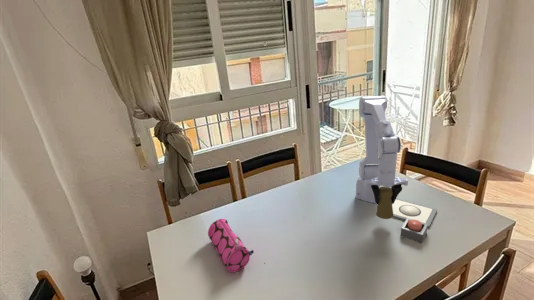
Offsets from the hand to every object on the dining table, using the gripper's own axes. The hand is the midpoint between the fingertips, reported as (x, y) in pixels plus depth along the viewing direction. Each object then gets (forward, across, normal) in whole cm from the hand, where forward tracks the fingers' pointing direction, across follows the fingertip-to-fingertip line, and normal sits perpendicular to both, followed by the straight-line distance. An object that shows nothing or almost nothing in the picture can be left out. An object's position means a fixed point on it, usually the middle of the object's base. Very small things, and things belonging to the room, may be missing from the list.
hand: (384, 202), depth 113 cm
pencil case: (+10, -56, -14) cm, 59 cm away
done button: (+7, +9, -6) cm, 13 cm away
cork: (+5, 0, -1) cm, 5 cm away
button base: (+10, +9, -6) cm, 15 cm away
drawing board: (+10, +12, +7) cm, 17 cm away
